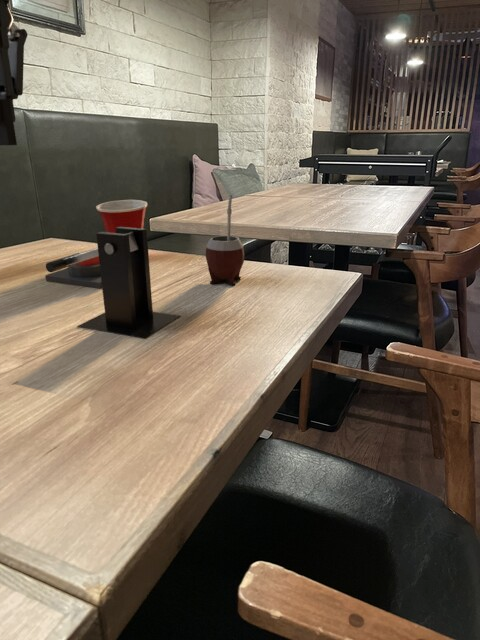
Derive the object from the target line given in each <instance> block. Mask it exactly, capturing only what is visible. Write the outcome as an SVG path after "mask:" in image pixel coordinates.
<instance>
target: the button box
mask: <svg viewBox="0 0 480 640" xmlns="http://www.w3.org/2000/svg"><path fill="white" fill-rule="evenodd" d="M44 277H45V281H46V283H47V282H48V283H55V284H61V285H69V286H76V287H82V288H90V289H98V290H101V289H102V281H101V272H100V264H98V265H92V266H79V265H77V264H75V265H72V266H69V267H66V268H64V269H61V270H58V271H55V272H50V273H48V274H45V276H44Z"/></svg>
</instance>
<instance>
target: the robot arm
mask: <svg viewBox="0 0 480 640" xmlns="http://www.w3.org/2000/svg"><path fill="white" fill-rule="evenodd" d="M10 1H11V0H0V146H18V143H17V135H16V130H15V129H16V128H15V124H14V123H16V113H15V106H14V100H17V99H18V98H19V96H22V95H23V94H24V61H25V59H24V58H25V44H26V41H27V39H28V32H27V30H26V29H25V28H19V27H18V26H17V24H15V23H14V18H13V17H14V16H13V15H12V12H11V10H10V8H9V3H10Z"/></svg>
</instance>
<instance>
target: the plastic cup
mask: <svg viewBox="0 0 480 640" xmlns="http://www.w3.org/2000/svg"><path fill="white" fill-rule="evenodd" d="M147 207H148V202H147V201H145V200H141V199H121V200H111V201H106V202H103V203H99V204H98V205H96V206H95V208H96V211H98V212H99V214H100V217H101V220H102V222H103V224H104V228H105V232H109V233H116V229H115V228H117V227H129V228H142V229H144V225H145V218H146V210H147Z"/></svg>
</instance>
